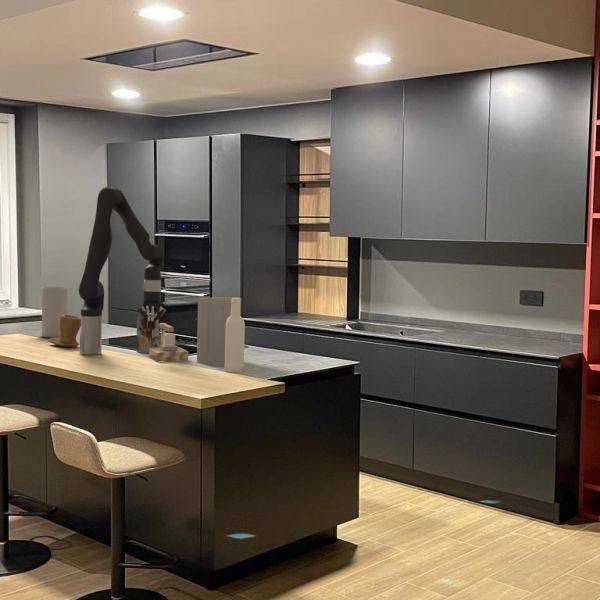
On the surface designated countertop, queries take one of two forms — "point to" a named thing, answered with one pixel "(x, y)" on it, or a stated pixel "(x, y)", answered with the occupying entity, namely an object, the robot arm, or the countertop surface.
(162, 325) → the bar
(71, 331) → the brown boot-shaped piece
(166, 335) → the plug
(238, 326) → the bottle
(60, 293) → the cylinder vase
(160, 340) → the clip post
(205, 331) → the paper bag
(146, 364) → the countertop surface
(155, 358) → the socket block
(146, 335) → the coffee box
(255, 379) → the countertop surface
